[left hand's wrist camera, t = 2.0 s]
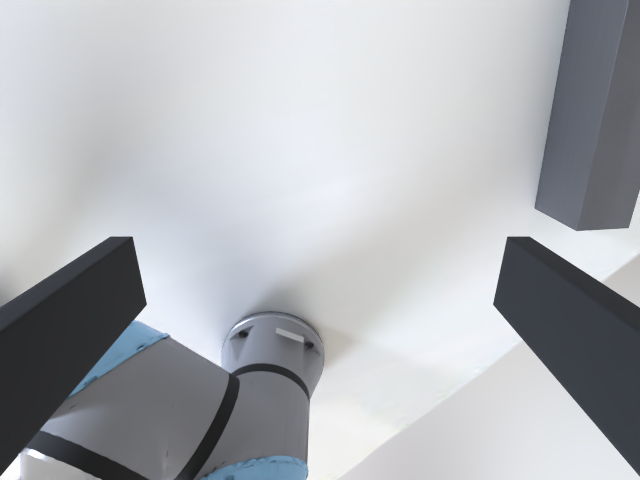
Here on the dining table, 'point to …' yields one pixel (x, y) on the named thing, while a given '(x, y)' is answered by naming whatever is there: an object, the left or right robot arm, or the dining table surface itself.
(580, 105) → the bar
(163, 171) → the dining table surface
